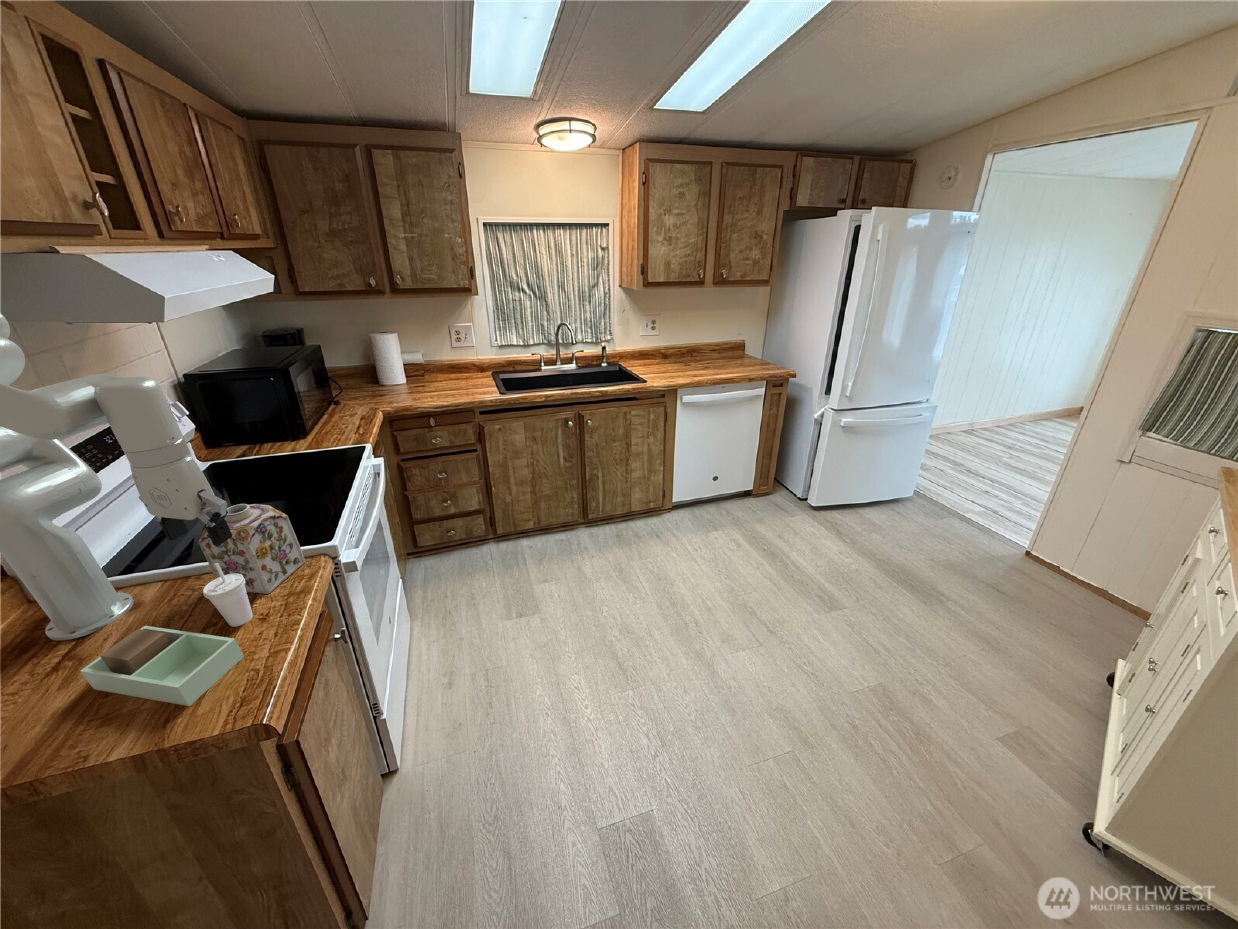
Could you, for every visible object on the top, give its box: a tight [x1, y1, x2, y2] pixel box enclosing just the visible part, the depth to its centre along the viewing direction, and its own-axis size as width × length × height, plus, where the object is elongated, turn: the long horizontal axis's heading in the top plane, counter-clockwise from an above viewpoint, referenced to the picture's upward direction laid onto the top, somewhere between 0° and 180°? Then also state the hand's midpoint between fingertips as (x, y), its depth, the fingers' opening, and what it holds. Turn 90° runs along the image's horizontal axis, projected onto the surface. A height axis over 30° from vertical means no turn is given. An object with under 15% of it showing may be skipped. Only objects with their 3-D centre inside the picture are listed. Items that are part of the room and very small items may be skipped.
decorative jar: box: [198, 503, 306, 595], centre depth 104 cm, size 12×12×18 cm
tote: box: [80, 625, 245, 707], centre depth 83 cm, size 20×10×5 cm, turn 80°
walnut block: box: [99, 628, 172, 676], centre depth 83 cm, size 6×6×6 cm
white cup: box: [202, 563, 254, 627], centre depth 92 cm, size 6×6×14 cm
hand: (201, 538), depth 86 cm, fingers open, 9 cm apart
